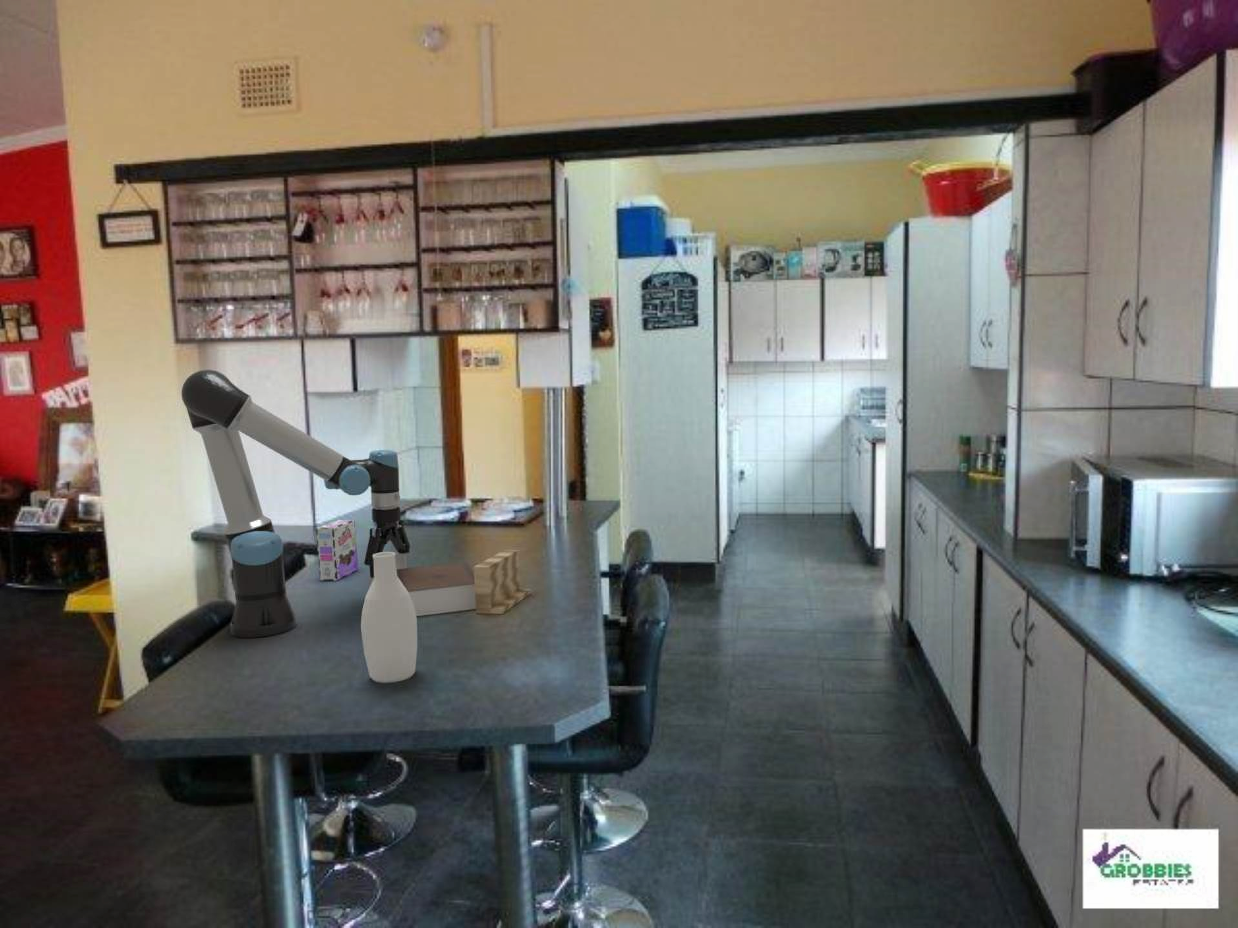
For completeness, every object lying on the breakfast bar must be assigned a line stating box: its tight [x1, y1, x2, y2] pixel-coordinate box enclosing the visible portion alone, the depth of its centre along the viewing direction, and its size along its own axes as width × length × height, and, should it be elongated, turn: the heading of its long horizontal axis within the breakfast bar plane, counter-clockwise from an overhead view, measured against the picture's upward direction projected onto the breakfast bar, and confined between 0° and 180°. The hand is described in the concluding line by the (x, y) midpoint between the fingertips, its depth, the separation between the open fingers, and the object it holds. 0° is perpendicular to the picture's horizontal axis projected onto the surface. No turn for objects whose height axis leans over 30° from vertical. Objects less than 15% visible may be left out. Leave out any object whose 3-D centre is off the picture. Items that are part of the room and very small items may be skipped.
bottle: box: [360, 551, 418, 684], centre depth 182 cm, size 11×11×25 cm
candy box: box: [315, 519, 359, 582], centre depth 274 cm, size 14×6×16 cm, turn 168°
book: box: [396, 561, 476, 617], centre depth 241 cm, size 24×28×6 cm
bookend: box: [473, 549, 532, 615], centre depth 235 cm, size 20×7×12 cm, turn 164°
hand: (389, 582), depth 247 cm, fingers open, 13 cm apart
